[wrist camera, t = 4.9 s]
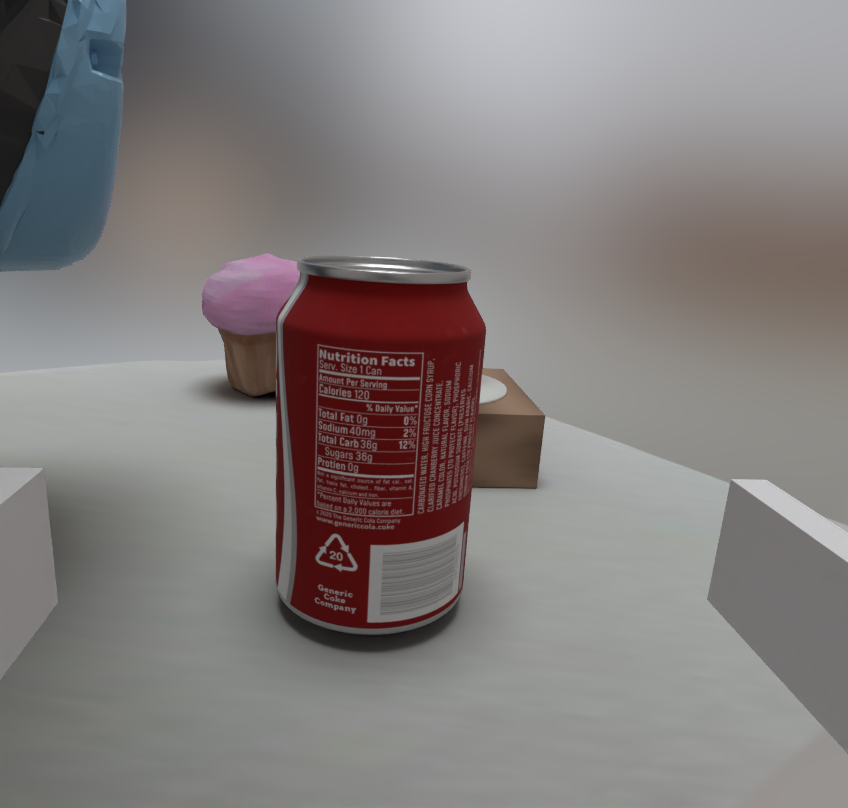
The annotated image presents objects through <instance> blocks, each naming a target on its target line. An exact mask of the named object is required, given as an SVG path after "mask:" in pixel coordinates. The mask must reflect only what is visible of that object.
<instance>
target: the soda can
mask: <svg viewBox="0 0 848 808" xmlns="http://www.w3.org/2000/svg"><path fill="white" fill-rule="evenodd" d="M297 270H298V271H300V278H299V281H298V283H297V285H296V286H295V288H294V289H293V291H292V292H291V294H290V295H289V297H288V298H287V300H286V301H285V303H284V304H283V306H282V307H281V309H280V310H279V312H278V314H277V317H276V586H277V591H278V593H279V596H280V597H281V599H282V601H283V602H284V603H285V604H286V606H287V607H288V608H289V609H290V610H292V611H293V612H294V613H295V614H297V615H298V616H299V617H301V618H303V619H304V620H306V621H308V622H310V623H313V624H315V625H318V626H320V627H323V628H326V629H330V630H334V631H338V632H343V633H349V634H356V635H385V634H394V633H400V632H405V631H409V630H413V629H416V628H420V627H422V626H425V625H427V624H430V623H432V622H434V621H436V620H437V619H439V618H441V617H442V616H443V615H445V614H446V613H447V612H448V611H449V610H451V609H452V608H453V606H454V605H455V604H456V603H457V601H458V599H459V597H460V595H461V593H462V588H463V579H464V567H465V556H466V545H467V534H468V523H469V512H470V501H471V490H472V479H473V468H474V457H475V446H476V435H477V424H478V413H479V402H480V390H481V379H482V368H483V357H484V346H485V335H486V327H485V323H484V321H483V319H482V317H481V315H480V314H479V312H478V310H477V308H476V306H475V304H474V302H473V300H472V298H471V296H470V295H469V293H468V290H467V281H469V280H470V278H471V270H470V269H469V268H467V267H464V266H459V265H455V264H448V263H442V262H433V261H425V260H414V259H403V258H388V257H370V256H309V257H302V258H299V259H298V260H297Z"/></svg>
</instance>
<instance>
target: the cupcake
mask: <svg viewBox="0 0 848 808" xmlns="http://www.w3.org/2000/svg"><path fill="white" fill-rule="evenodd" d="M299 278H300V271H298V270H297V262H294V261H290V260H284V259H281V258H278V257H275V256H273V255H271V254H263V255H260V256H257V257H251V258H247V259H243V260H237V261H233V262H228V263H226V264H225V265H224V266H223V267H222V268H221V269H220V271H219V272H218V273H216V274H214V275H212V276H210V277H209V278H208V280H207V281H206V283H205V286H204V289H203V293H202V298H203V299H202V310H203V315H204V316H205V317H206V318H207V320H208V321H209V322H210V323H211V324H212V325H213V326H215V327H216V328H218V330H219V332H220V334H221V337H222V340H223V342H224V347H225V360H226V369H227V375H228V380H229V382H230V384H231V385H232V387H233V388H235V389H237V390H239V391H241V392H243V393H245V394H248V395H249V396H259V395H263V394H266V393H269V392H276V317H277V314H278V312H279V310H280V309H281V307H282V306H283V304H284V303H285V301H286V300H287V298H288V297H289V295H290V294H291V292H292V291H293V289H294V288H295V286H296V285H297V283H298V281H299Z"/></svg>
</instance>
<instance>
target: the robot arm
mask: <svg viewBox="0 0 848 808" xmlns="http://www.w3.org/2000/svg"><path fill="white" fill-rule="evenodd" d="M125 29H126V0H0V272H1V271H43V270H58V269H61V268H63V267H66V266H70V265H72V264H73V263H74V262H77V261H79V260H82V259H83V258H85V257H86V256H87V255H89V254H90V252H91V251H92V250H93V249H94V248H95V247H96V245H97V243H98V241H99V239H100V238H101V235H102V233H103V230H104V227H105V225H106V221H107V217H108V213H109V208H110V204H111V199H112V194H113V188H114V182H115V175H116V168H117V160H118V151H119V141H120V132H121V120H122V104H123V81H122V75H121V71H120V67H121V66H122V63H123V46H124V38H125ZM707 600H708V601H709V602H710V603H711V604H712V605H713V606H714V607H715V609H716V610H717V611H718V612H719V613H720V614H721V615H722V616H723V617H724V618H725V619H726V621H727V622H728V623H729V624H730V625H731V626H732V627H733V628H734V629H735V630H736V632H737V633H738V634H739V635H740V636H741V637H742V638H743V639H744V640H745V641H746V643H747V644H748V645H749V646H750V647H751V648H752V649H753V650H754V651H755V652H756V654H757V655H758V656H759V657H760V658H761V659H762V660H763V661H764V662H765V663H766V665H767V666H768V667H769V668H770V669H771V670H772V671H773V672H774V673H775V674H776V675H777V677H778V678H779V679H780V680H781V681H782V682H783V683H784V684H785V685H786V686H787V688H788V689H789V690H790V691H791V692H792V693H793V694H794V695H795V696H796V697H797V699H798V700H799V701H800V702H801V703H802V704H803V705H804V706H805V707H806V708H807V710H808V711H809V712H810V713H811V714H812V715H813V716H814V717H815V718H816V719H817V721H818V722H819V723H820V724H821V725H822V726H823V727H824V728H825V729H826V730H827V731H828V733H829V734H830V735H831V736H832V737H833V738H834V739H835V740H836V741H837V742H838V744H839V745H840V746H841V747H842V748H843V749H844V750H845V751H846V752H847V753H848V533H847V532H846V531H844V530H842V529H841V528H839V527H838V526H836V525H835V524H833V523H832V522H830V521H829V520H827V519H826V518H824V517H823V516H821V515H819V514H818V513H816V512H815V511H813V510H812V509H810V508H809V507H807V506H806V505H804V504H803V503H801V502H799V501H798V500H796V499H795V498H793V497H792V496H790V495H789V494H787V493H786V492H784V491H783V490H781V489H780V488H778V487H776V486H775V485H773V484H772V483H770V482H769V481H767V480H737V479H734V480H733V479H731V482H730V487H729V492H728V497H727V502H726V507H725V512H724V517H723V522H722V528H721V533H720V538H719V543H718V548H717V553H716V558H715V563H714V568H713V573H712V578H711V583H710V588H709V593H708V598H707ZM57 604H58V596H57V586H56V576H55V567H54V557H53V547H52V538H51V528H50V518H49V509H48V499H47V489H46V480H45V470H44V468H4V467H0V680H1V678H2V677H3V676H4V674H5V673H6V672H7V670H8V669H9V668H10V666H11V665H12V664H13V662H14V661H15V660H16V658H17V657H18V656H19V654H20V653H21V652H22V650H23V649H24V648H25V646H26V645H27V644H28V643H29V641H30V640H31V639H32V637H33V636H34V635H35V633H36V632H37V631H38V629H39V628H40V627H41V625H42V624H43V623H44V621H45V620H46V619H47V617H48V616H49V615H50V613H51V612H52V611H53V609H54V608H55V607H56V605H57Z"/></svg>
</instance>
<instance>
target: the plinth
mask: <svg viewBox="0 0 848 808" xmlns="http://www.w3.org/2000/svg"><path fill="white" fill-rule="evenodd" d="M544 421H545V415H544V414H543V413H542V411H540V409H539V408H538V407H537V406H536V405H535V404H534V403H533V402H532V400H531V399H530V398H529V397H528V396H527V395H526V394H525V393H524V392H523V391H522V390H521V388H520V387H519V386H518V385H517V384H516V383H515V382H514V381H513V379H512V378H511V377H510V376H509V375H508V374H507V373H506V372H505V371H504V370H503V369H485V368H482V379H481V390H480V402H479V413H478V424H477V435H476V446H475V457H474V468H473V479H472V487H515V488H537V480H538V471H539V463H540V455H541V446H542V438H543V430H544Z"/></svg>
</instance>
